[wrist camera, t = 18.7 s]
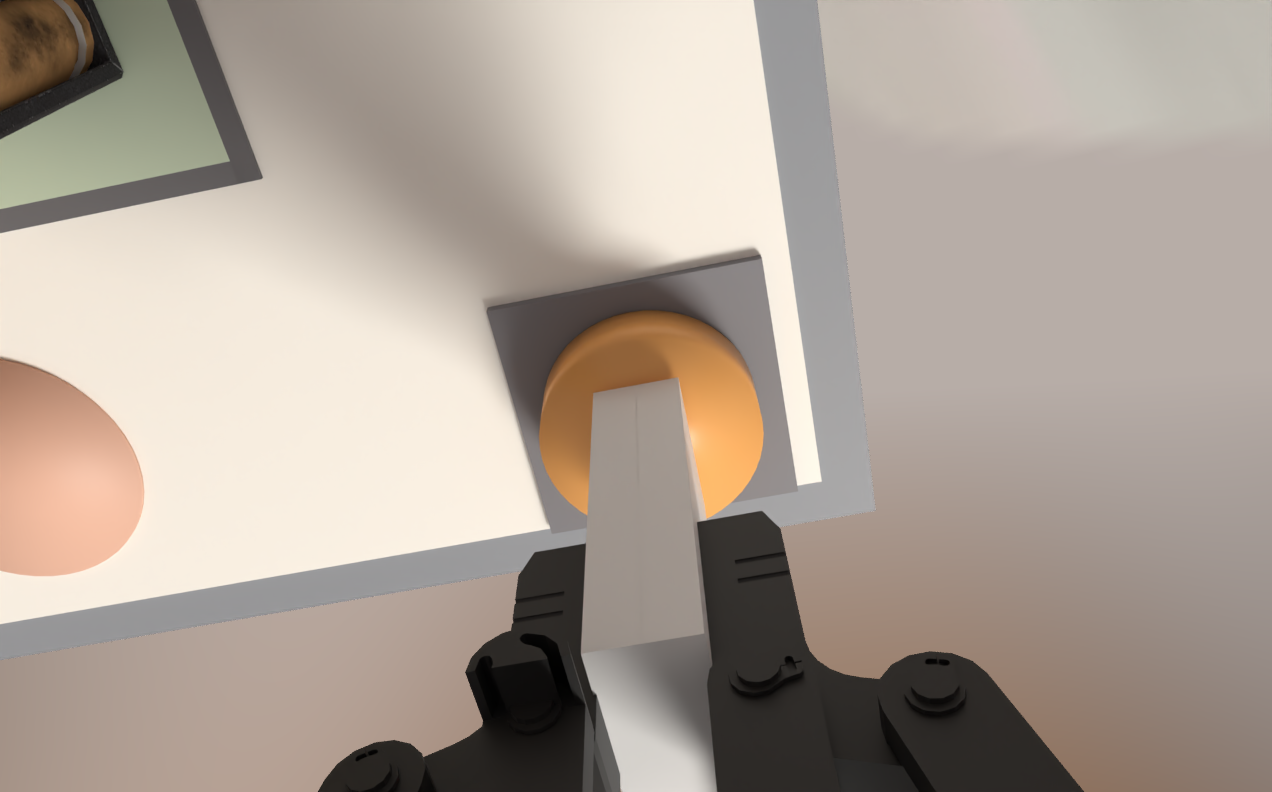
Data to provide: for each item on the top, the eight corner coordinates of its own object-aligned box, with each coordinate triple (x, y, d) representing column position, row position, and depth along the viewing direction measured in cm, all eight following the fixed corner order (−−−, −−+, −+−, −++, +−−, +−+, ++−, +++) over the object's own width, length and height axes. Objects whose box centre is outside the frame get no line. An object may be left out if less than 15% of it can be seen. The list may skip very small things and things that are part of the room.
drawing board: (-783, -65, 17) (-883, -56, 16) (755, -447, 15) (766, -468, 14) (-214, 670, 25) (-254, 711, 24) (865, 483, 23) (878, 518, 22)
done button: (520, 332, 19) (513, 363, 18) (738, 291, 19) (745, 319, 18) (569, 511, 21) (567, 548, 20) (770, 476, 21) (777, 511, 20)
